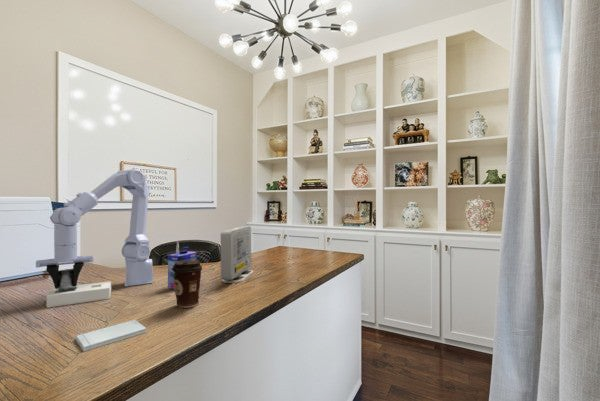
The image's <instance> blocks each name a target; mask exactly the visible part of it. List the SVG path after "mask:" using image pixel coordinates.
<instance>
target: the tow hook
mask: <svg viewBox="0 0 600 401" xmlns="http://www.w3.org/2000/svg"><path fill="white" fill-rule="evenodd" d="M179 241H180V240H176V247H175V249H176V250H175V253H180V244H179Z"/></svg>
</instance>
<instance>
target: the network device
mask: <svg viewBox="0 0 600 401" xmlns="http://www.w3.org/2000/svg"><path fill="white" fill-rule="evenodd" d="M251 230H252V228H251V226H248V225H247V226H242V225H241V226H238V227H235V228H230V229H226V230H222V231H221V233H220V277H221V283H225V284H237V283H242V282H244V281H245V280H246V279H248V278H249V277H250V276H252V275H253V274H254V270H252V269H250V270H249V268H250V267H251V265H252V234H251V233H252V231H251ZM242 273H246V274H242ZM235 278H236V279H237V278H240V279H239V280H234V279H235Z"/></svg>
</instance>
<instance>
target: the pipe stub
mask: <svg viewBox="0 0 600 401" xmlns="http://www.w3.org/2000/svg"><path fill="white" fill-rule="evenodd" d="M73 281H74V271H73V268H65V269H61V270H60V269H59V271H58V293H60V292H68V291H74V287H73Z"/></svg>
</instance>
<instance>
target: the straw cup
mask: <svg viewBox="0 0 600 401" xmlns="http://www.w3.org/2000/svg"><path fill="white" fill-rule="evenodd" d="M189 249H190V246H185V247H182V248H181V250H179V253H176V252H175V253H172V254H168V255H167V288H168V289H171V290H172V289H173V290H175V287H174V271H173V270H172V268H173V267H174V264H175V263H176V262H178V261H186V260H190V261H197V260H198V258H197V257H198V253H197V252H196V251H189Z"/></svg>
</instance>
